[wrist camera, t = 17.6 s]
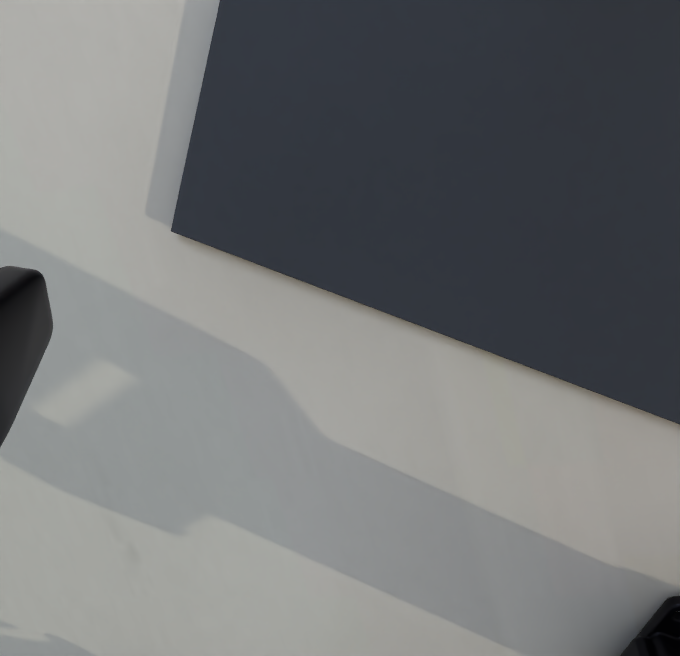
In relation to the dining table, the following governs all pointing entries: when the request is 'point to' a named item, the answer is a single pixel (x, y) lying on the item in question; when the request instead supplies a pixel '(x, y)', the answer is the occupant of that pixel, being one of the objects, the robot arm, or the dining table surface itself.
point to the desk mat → (459, 171)
